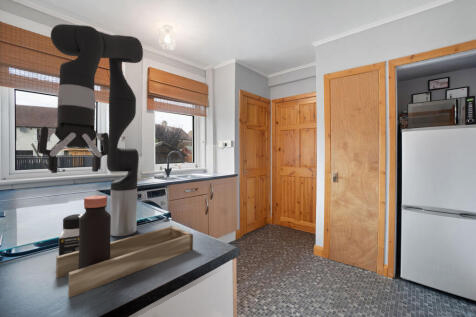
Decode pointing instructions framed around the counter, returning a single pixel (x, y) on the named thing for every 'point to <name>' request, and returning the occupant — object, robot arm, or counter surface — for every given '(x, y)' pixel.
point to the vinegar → (94, 232)
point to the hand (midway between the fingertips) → (75, 172)
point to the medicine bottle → (69, 235)
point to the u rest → (124, 258)
